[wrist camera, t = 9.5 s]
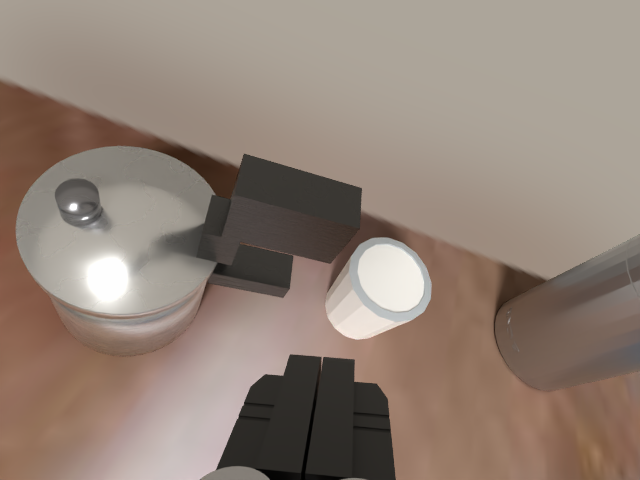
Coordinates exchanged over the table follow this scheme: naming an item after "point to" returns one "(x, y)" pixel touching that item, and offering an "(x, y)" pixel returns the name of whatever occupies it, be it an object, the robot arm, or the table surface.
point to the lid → (167, 226)
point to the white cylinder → (378, 289)
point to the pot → (179, 306)
